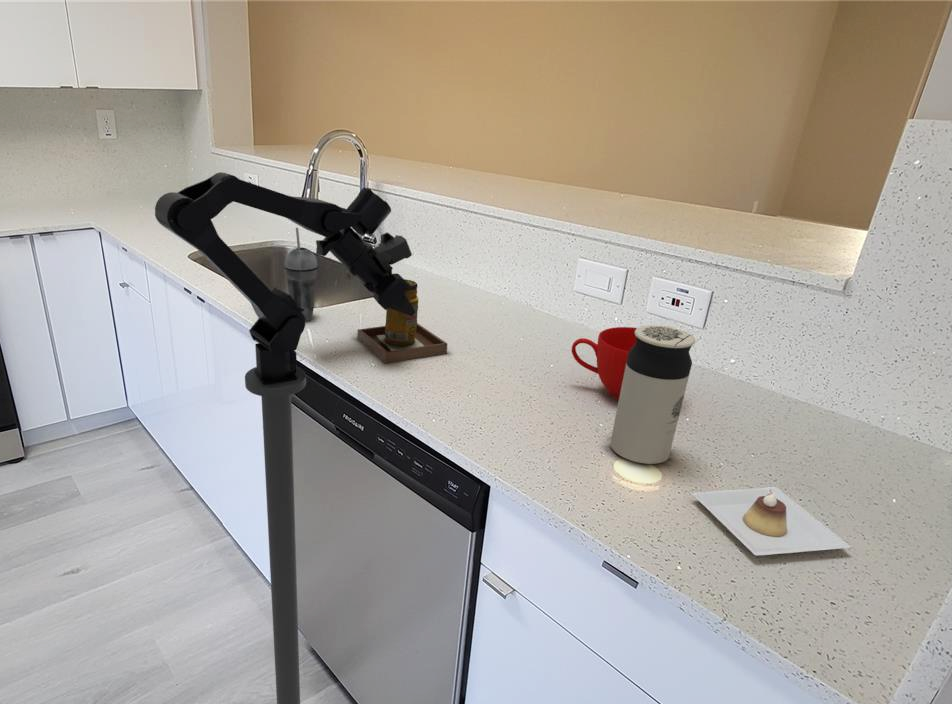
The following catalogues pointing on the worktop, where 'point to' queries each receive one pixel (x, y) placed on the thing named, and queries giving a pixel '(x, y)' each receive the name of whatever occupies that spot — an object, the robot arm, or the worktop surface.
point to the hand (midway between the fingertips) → (408, 308)
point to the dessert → (769, 521)
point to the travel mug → (652, 394)
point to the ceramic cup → (610, 356)
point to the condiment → (402, 324)
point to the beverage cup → (302, 277)
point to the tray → (424, 336)
